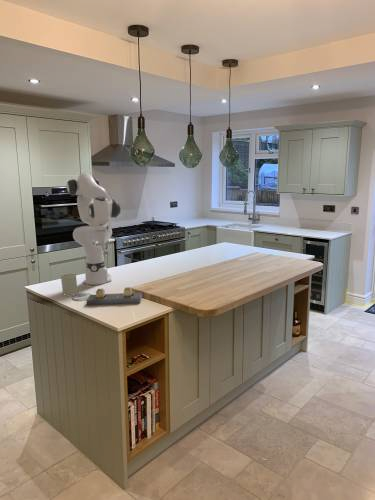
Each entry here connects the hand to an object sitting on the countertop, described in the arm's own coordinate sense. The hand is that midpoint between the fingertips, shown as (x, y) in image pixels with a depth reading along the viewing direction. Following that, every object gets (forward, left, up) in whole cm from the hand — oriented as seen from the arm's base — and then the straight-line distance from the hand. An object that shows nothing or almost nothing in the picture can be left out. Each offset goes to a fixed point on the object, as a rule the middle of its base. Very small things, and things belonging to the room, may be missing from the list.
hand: (105, 248), depth 226 cm
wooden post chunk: (+10, +13, -29) cm, 33 cm away
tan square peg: (+10, -3, -29) cm, 31 cm away
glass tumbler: (-9, -26, -29) cm, 40 cm away
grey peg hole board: (+10, +5, -29) cm, 31 cm away
